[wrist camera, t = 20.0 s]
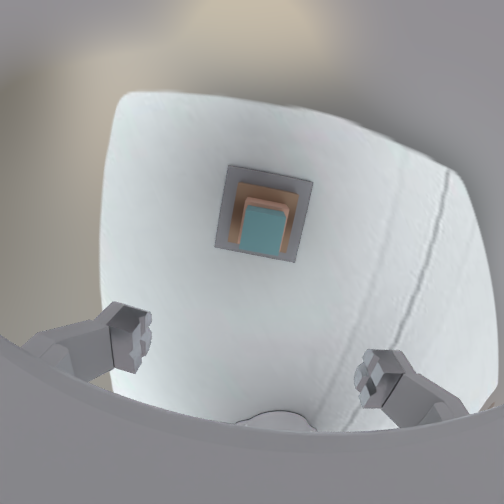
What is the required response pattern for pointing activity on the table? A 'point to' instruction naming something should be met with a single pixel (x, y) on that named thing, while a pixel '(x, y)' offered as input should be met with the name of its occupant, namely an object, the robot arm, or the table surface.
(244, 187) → the base brick
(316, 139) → the table surface
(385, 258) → the table surface
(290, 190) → the mat
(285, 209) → the terracotta cube
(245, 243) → the teal cube
